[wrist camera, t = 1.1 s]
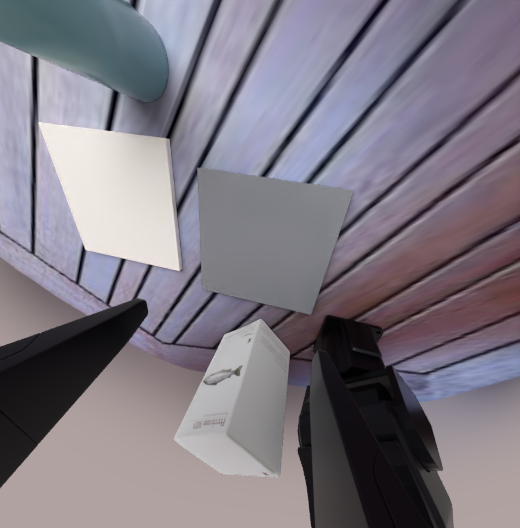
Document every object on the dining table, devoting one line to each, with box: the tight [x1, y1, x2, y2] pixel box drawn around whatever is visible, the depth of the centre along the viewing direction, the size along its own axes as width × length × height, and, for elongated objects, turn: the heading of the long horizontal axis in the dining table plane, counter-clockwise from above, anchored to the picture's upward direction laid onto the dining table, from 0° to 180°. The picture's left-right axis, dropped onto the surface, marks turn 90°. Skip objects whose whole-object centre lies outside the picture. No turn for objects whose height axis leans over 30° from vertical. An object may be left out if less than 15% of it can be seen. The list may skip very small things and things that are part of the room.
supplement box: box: [174, 319, 290, 477], centre depth 21 cm, size 7×7×13 cm
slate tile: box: [197, 168, 354, 315], centre depth 20 cm, size 14×14×1 cm
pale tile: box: [38, 122, 182, 271], centre depth 21 cm, size 14×14×1 cm
